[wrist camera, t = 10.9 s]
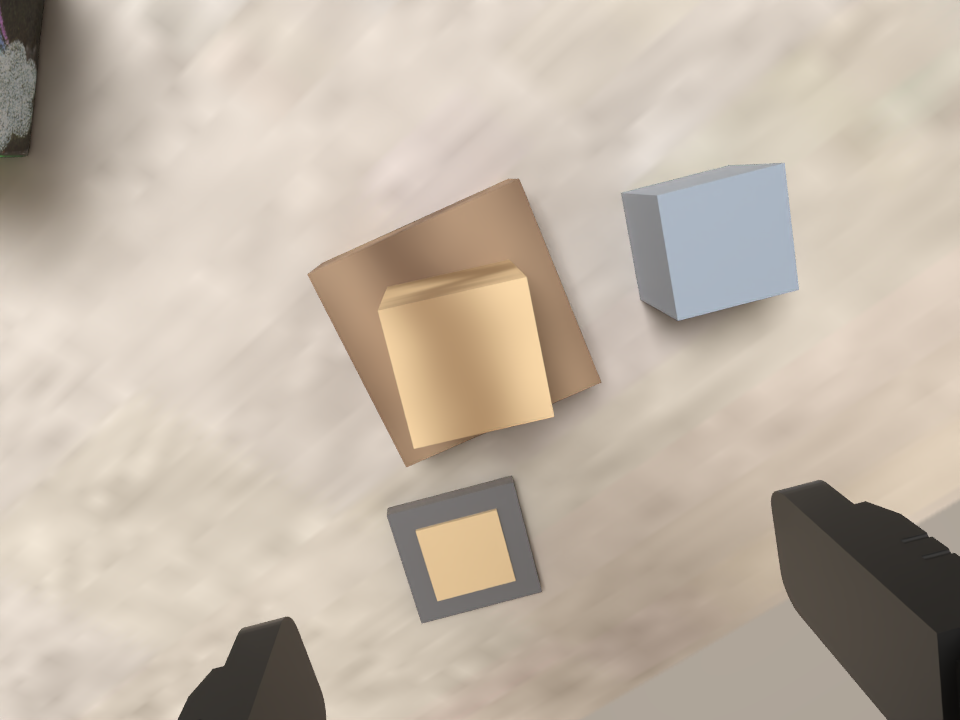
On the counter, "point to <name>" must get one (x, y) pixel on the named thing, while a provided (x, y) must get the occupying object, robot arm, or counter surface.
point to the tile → (464, 549)
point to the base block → (440, 250)
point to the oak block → (465, 353)
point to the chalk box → (18, 72)
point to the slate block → (712, 239)
